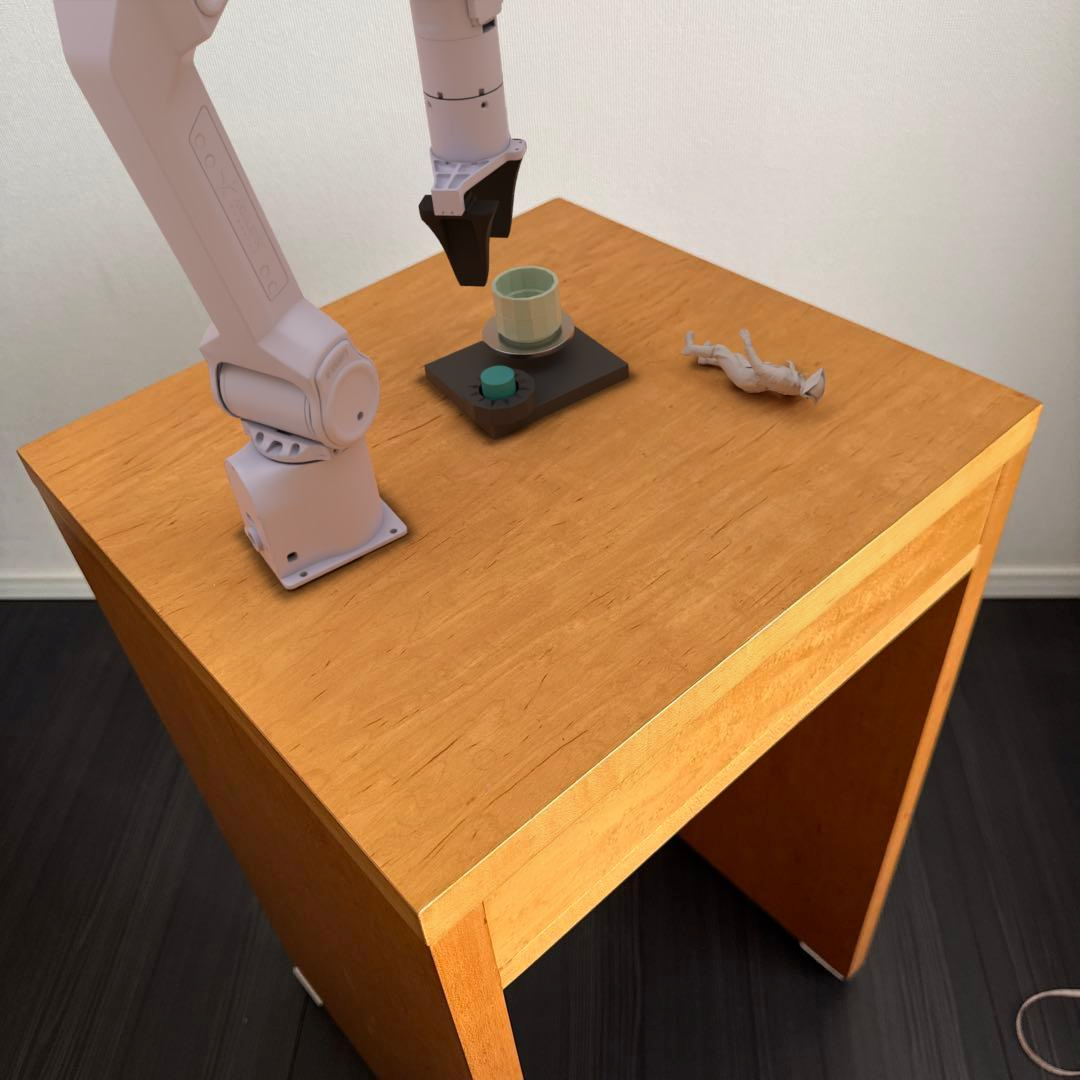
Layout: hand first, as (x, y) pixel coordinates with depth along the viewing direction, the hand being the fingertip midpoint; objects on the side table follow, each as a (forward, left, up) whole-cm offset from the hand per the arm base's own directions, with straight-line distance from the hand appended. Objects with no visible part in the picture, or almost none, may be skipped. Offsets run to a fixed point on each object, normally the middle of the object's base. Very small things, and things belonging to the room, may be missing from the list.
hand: (485, 259), depth 88 cm
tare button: (-4, -7, -7) cm, 11 cm away
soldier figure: (+14, -16, -10) cm, 24 cm away
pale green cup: (+2, -2, -6) cm, 7 cm away
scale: (+1, -3, -10) cm, 10 cm away
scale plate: (+2, -2, -7) cm, 7 cm away
